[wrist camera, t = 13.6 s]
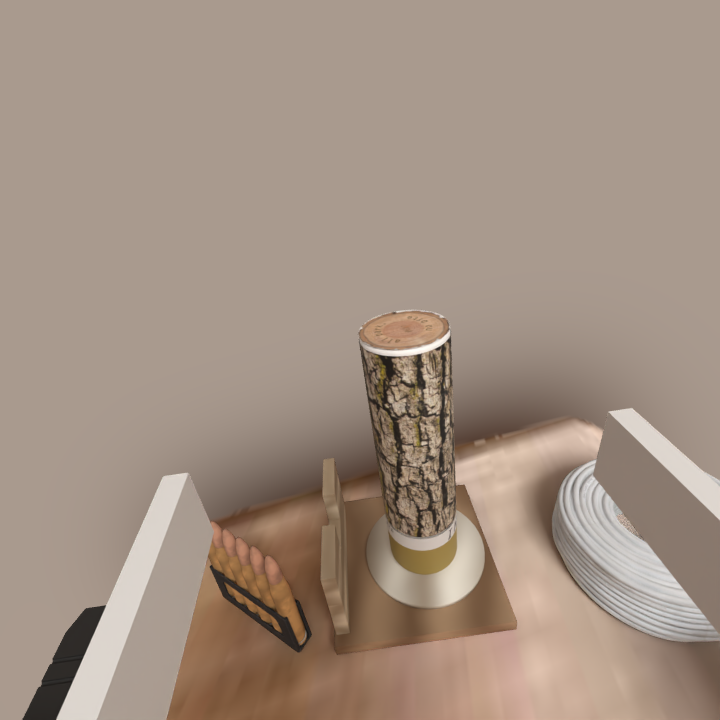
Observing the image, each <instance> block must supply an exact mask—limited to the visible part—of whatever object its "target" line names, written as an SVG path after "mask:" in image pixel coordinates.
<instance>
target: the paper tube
mask: <svg viewBox="0 0 720 720" xmlns="http://www.w3.org/2000/svg"><path fill="white" fill-rule="evenodd" d="M359 343H360V350H361V357H362V363H363V370H364V377H365V383H366V390H367V396H368V403H369V409H370V416H371V423H372V429H373V436H374V443H375V449H376V456H377V463H378V469H379V476H380V482H381V489H382V496H383V502H384V509H385V515H386V522H387V528H388V534H389V540H390V547H391V551H392V554H393V556H394V558H395V560H396V561H397V562H398V563H399V564H400V565H401V566H402V567H403V568H405V569H406V570H408V571H410V572H413V573H416V574H421V575H429V574H434V573H437V572H439V571H442V570H443V569H445V568H446V567H447V566H449V565H450V563H451V562H452V561H453V559H454V557H455V555H456V551H457V516H456V484H455V452H454V420H453V387H452V357H451V356H452V355H451V330H450V323H449V321H448V320H447V319H446V318H445V317H444V316H442V315H440V314H437V313H434V312H430V311H423V310H404V311H395V312H390V313H386V314H382V315H380V316H377V317H375V318H372V319H370V320H369V321H367V322H366V323H364V324H363V325H362V326H361V328H360V330H359Z"/></svg>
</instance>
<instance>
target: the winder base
mask: <svg viewBox="0 0 720 720" xmlns="http://www.w3.org/2000/svg"><path fill="white" fill-rule="evenodd" d="M323 500H324V504H325V508H326V512H327V516H328V520H329V525H326V526H322V541H321V583H322V587H323V590H324V593H325V597H326V600H327V604H328V607H329V610H330V614H331V617H332V621H333V624H334V637H335V650H336V654H337V655H338V654H345V653H352V652H359V651H366V650H373V649H380V648H387V647H394V646H401V645H408V644H415V643H422V642H429V641H436V640H443V639H451V638H458V637H465V636H472V635H479V634H486V633H493V632H500V631H507V630H514V629H516V627H517V620H516V618H515V615H514V612H513V610H512V607H511V605H510V602H509V599H508V597H507V594H506V592H505V589H504V586H503V584H502V581H501V579H500V576H499V573H498V571H497V568H496V566H495V563H494V560H493V558H492V555H491V552H490V550H489V547H488V545H487V542H486V539H485V537H484V534H483V532H482V529H481V526H480V524H479V521H478V519H477V516H476V513H475V511H474V508H473V506H472V503H471V500H470V498H469V495H468V493H467V490H466V487H465V485H458V486H456V516H457V551H456V555H455V557H454V559H453V561H452V562H451V563H450V565H449V566H447V567H446V568H445V569H443V570H442V571H439V572H437V573H434V574H429V575H421V574H416V573H413V572H410V571H408V570H406V569H405V568H403V567H402V566H401V565H400V564H399V563H398V562H397V561H396V560H395V558H394V556H393V554H392V551H391V547H390V540H389V534H388V528H387V522H386V515H385V509H384V502H383V497H376V498H369V499H362V500H355V501H348V502H344V501H343V496H342V492H341V487H340V482H339V478H338V473H337V469H336V464H335V459H334V458H330V459H324V460H323Z"/></svg>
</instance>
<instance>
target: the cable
mask: <svg viewBox="0 0 720 720" xmlns="http://www.w3.org/2000/svg"><path fill="white" fill-rule="evenodd" d="M596 460H597V459H595V460H592V461H590V462H588V463H585V464H583V465H581V466H579V467H577V468H575V469H574V470H572V471H571V472H570V473H569V474H568V475H567V476H566V477H565V478H564V480H563V482H562V484H561V486H560V489H559V492H558V495H557V500H556V503H555V508H554V511H553V515H552V533H553V538H554V542H555V545H556V547H557V549H558V551H559V553H560V554H561V557H562V559H563V561H564V563H565V565H566V567H567V569H568V570H569V572H570V574H571V575H572V576H573V578H574V579H575V581H576V582H577V583H578V584H579V586H580V587H581V588H582V589H583V590H584V591H585V592H586V593H587V594H588V595H589V596H590V597H591V598H592V599H593V600H594V601H595V602H596V603H597V604H598V605H599V606H601V607H602V608H603V609H604V610H606V611H607V612H609V613H610V614H611V615H613V616H614V617H616V618H617V619H619V620H621V621H622V622H624V623H626V624H628V625H629V626H631V627H633V628H635V629H637V630H640V631H642V632H644V633H646V634H649V635H652V636H655V637H658V638H662V639H666V640H670V641H679V642H712V641H720V635H719V633H718V632H717V631H716V630H715V628H714V627H713V626H712V625H711V623H710V622H709V621H708V620H707V618H706V617H705V616H704V614H703V613H702V612H701V611H700V609H699V608H698V607H697V606H696V604H695V603H694V602H693V601H692V599H691V598H690V597H689V596H688V594H687V593H686V592H685V591H684V589H683V588H682V587H681V586H680V584H679V583H678V582H677V581H676V579H675V578H674V577H673V576H672V574H671V573H670V572H669V570H668V569H667V568H666V567H665V565H664V564H663V563H662V562H661V560H660V559H659V558H658V557H657V555H656V554H655V553H654V552H653V550H652V549H651V548H650V547H649V545H648V544H647V543H646V542H645V541H643V540H642V539H640V538H638V537H637V536H635V535H634V534H632V533H631V532H630V531H628V530H627V529H626V528H625V527H624V526H623V525H622V524H621V523H620V522H619V521H618V519H617V517H616V516H617V515H620V514H623V513H622V511H621V510H620V509H619V508H618V506H617V505H616V504H615V503H614V501H613V500H612V499H611V498H610V496H609V495H608V494H607V492H606V491H605V490H604V489H603V487H602V486H601V485H600V484H599V482H598V481H597V480H596V479H595V477H594V476H593V472H594V468H595V464H596ZM704 473H705V472H704ZM705 474H706V475H708V476H709V477H710V478H711V479H712V480H713V481H714V482H715V483H717V484H718V485H719V486H720V480H718V479H716V478H714V477H713V476H711V475H709V474H707V473H705Z"/></svg>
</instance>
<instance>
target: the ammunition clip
mask: <svg viewBox="0 0 720 720" xmlns="http://www.w3.org/2000/svg"><path fill="white" fill-rule="evenodd" d="M210 523H211V526H212V528H213V530H214V534H213V538H212V542H211V546H210V550H209V554H208V557H209V559H210V561H211V563H212V565H211V566H210V569H211V571H212V573H213V575H214V577H215V579H216V582H217V584H218V586H219V588H220V590H221V592H222V594H223V597H225V598H226V599H227V600H229V601H230V602H231V603H233V604H234V605H235V606H237V607H238V608H239V609H241V610H242V611H243V612H245V613H246V614H247V615H249V616H250V617H251V618H253V619H254V620H255V621H257V622H258V623H259V624H261V625H262V626H263V627H265V628H266V629H267V630H269V631H270V632H271V633H273V634H274V635H275V636H277V637H278V638H279V639H281V640H282V641H283V642H285V643H286V644H287V645H289V646H290V647H291V648H293V649H294V650H295V651H297V652H300V651H301V650H302V648H303V647H304V645H305V644H306V642H307V641H308V639H309V638H310V637H311V635H312V634H311V631H310V629H309V626H308V623H307V621H306V618H305V616H304V613H303V610H302V608H301V605H300V602H299V601H298V600H296V599H295V598H294V597H293V594H292V591H291V588H290V586H289V584H288V582H287V581H286V580H285V578H284V576H283V574H282V572H281V569H280V567H279V566H278V564H277V562H276V561H275V560H274V559H273V558H272V557H271V556H269V555H266V557H265V558H264V556H263V555H262V553H261V552H260V551H259V549H258V548H256V547H255V546H251V548H249V546H248V545H247V543H246V542H245V541H244V540H243V539H242V538H240V537H237V539H235V537H234V536H233V534H232V533H231V532H230V531H228V530H227V529H223V531H222V529H221V528H220V526H219V525H218V524H217V523H215V522H214V521H210Z"/></svg>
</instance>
